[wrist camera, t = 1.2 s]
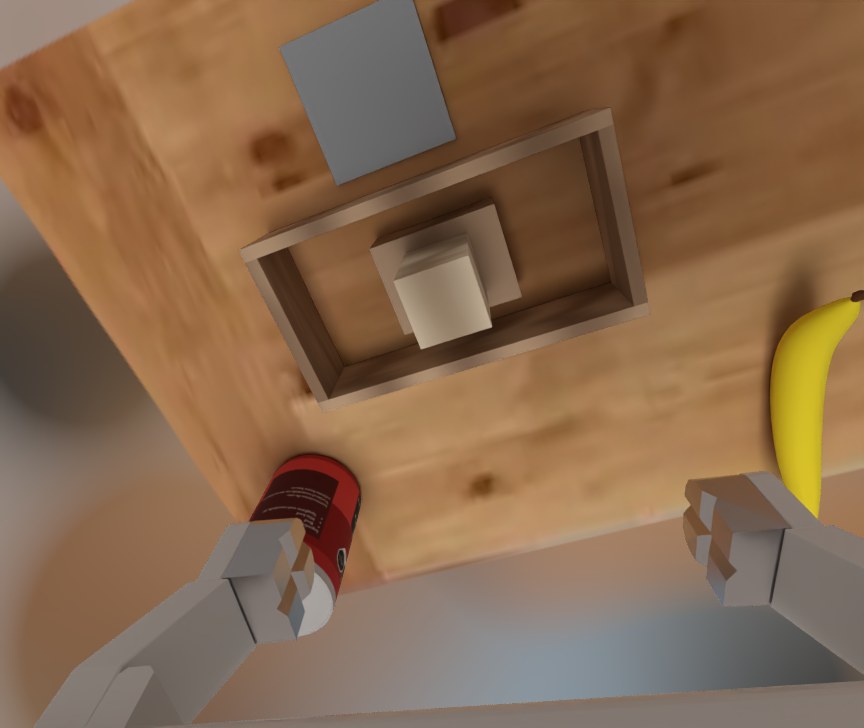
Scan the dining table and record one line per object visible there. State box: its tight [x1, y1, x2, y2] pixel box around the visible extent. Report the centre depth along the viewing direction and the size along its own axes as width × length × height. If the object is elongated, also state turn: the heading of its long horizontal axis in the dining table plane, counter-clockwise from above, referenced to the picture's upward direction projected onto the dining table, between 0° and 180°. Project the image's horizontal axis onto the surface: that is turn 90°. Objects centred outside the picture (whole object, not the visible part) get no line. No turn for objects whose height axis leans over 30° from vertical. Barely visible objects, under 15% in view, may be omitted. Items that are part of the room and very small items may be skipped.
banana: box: [770, 290, 864, 519], centre depth 34 cm, size 3×19×6 cm, turn 12°
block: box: [393, 232, 492, 349], centre depth 29 cm, size 4×4×6 cm
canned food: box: [249, 455, 361, 636], centre depth 38 cm, size 8×8×11 cm
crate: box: [238, 108, 650, 413], centre depth 32 cm, size 22×12×5 cm, turn 110°
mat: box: [279, 0, 456, 186], centre depth 30 cm, size 8×8×1 cm
